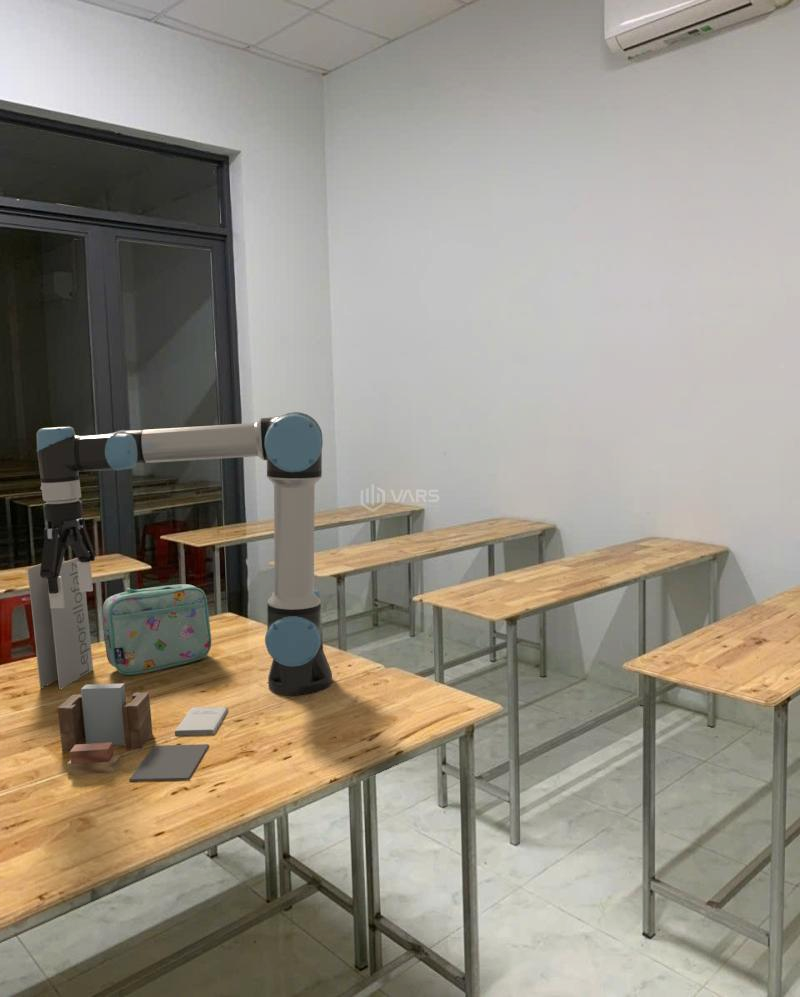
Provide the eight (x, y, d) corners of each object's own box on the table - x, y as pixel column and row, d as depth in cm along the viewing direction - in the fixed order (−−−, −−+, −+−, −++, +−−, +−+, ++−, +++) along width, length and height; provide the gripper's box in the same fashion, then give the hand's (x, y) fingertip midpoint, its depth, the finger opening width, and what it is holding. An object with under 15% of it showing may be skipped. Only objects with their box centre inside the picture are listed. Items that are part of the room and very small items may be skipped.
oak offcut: (121, 767, 157) (120, 755, 157) (115, 774, 154) (114, 762, 154) (75, 768, 157) (73, 756, 157) (68, 775, 154) (66, 763, 154)
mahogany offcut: (113, 754, 157) (112, 742, 157) (109, 761, 154) (107, 749, 154) (76, 757, 157) (75, 744, 156) (71, 764, 154) (69, 751, 153)
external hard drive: (175, 738, 170) (191, 713, 182) (214, 736, 170) (228, 712, 182) (174, 730, 170) (191, 706, 182) (213, 729, 169) (227, 705, 182)
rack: (153, 733, 171) (149, 692, 170) (140, 749, 164) (136, 706, 162) (77, 735, 172) (73, 694, 170) (61, 751, 164) (56, 708, 163)
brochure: (60, 690, 199) (47, 568, 194) (39, 689, 200) (27, 568, 196) (93, 669, 212) (82, 556, 208) (74, 669, 213) (62, 555, 209)
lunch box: (109, 682, 202) (102, 598, 200) (101, 670, 211) (94, 589, 208) (215, 660, 216) (209, 581, 213) (203, 650, 224) (198, 574, 222)
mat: (208, 746, 164) (208, 744, 164) (188, 779, 150) (188, 777, 150) (154, 747, 164) (154, 745, 164) (129, 781, 150) (129, 779, 150)
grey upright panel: (129, 739, 169) (124, 683, 167) (125, 744, 166) (120, 687, 165) (91, 740, 169) (85, 684, 167) (86, 745, 166) (80, 688, 165)
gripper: (71, 493, 185) (81, 585, 188) (13, 510, 161) (25, 616, 163) (104, 492, 185) (113, 584, 188) (51, 509, 160) (62, 615, 163)
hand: (72, 599), depth 176 cm, fingers open, 13 cm apart
